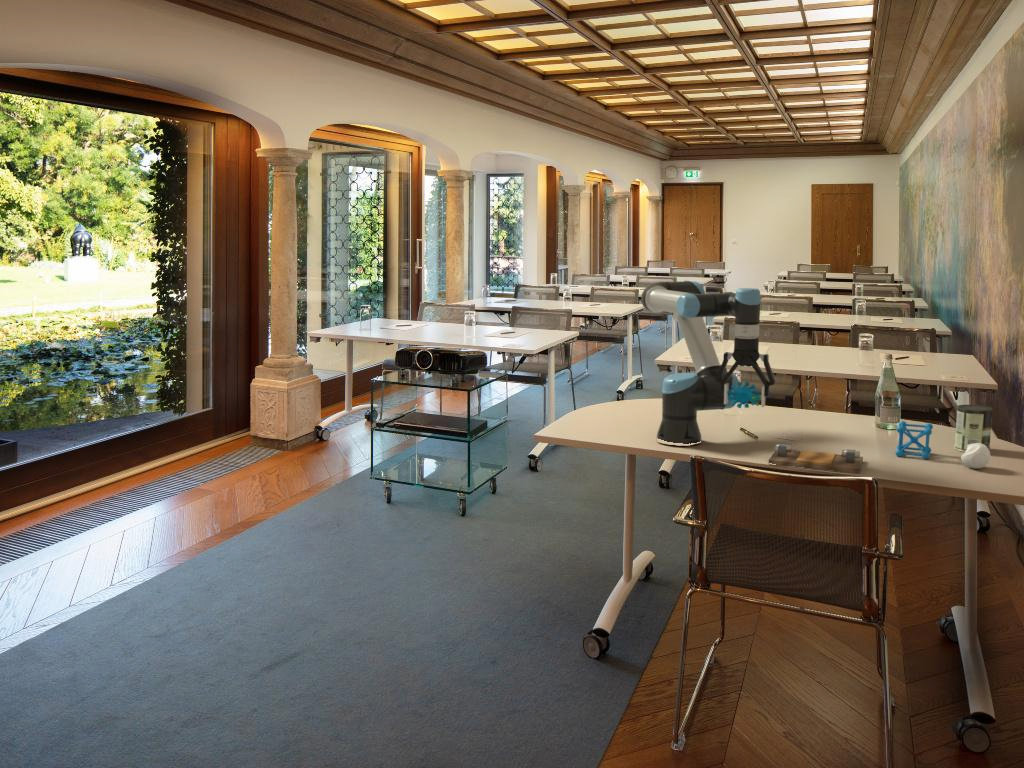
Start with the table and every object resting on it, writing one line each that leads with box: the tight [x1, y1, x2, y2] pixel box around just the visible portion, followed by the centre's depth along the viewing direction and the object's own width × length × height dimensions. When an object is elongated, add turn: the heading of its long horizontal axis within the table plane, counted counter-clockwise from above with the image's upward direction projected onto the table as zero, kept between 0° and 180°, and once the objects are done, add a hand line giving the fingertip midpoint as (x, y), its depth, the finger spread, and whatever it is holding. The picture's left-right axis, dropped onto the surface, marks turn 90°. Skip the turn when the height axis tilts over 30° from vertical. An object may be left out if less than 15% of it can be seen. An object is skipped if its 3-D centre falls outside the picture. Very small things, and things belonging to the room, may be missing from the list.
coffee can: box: [954, 404, 994, 453], centre depth 278 cm, size 10×10×14 cm
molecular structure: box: [894, 420, 934, 460], centre depth 273 cm, size 10×10×10 cm
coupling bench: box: [768, 449, 864, 474], centre depth 266 cm, size 26×15×2 cm, turn 64°
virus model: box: [728, 381, 762, 409], centre depth 278 cm, size 11×6×10 cm
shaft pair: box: [773, 443, 861, 464], centre depth 265 cm, size 25×4×3 cm, turn 64°
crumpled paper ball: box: [960, 443, 991, 470], centre depth 257 cm, size 8×8×8 cm
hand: (744, 404), depth 277 cm, fingers closed on virus model, 11 cm apart
